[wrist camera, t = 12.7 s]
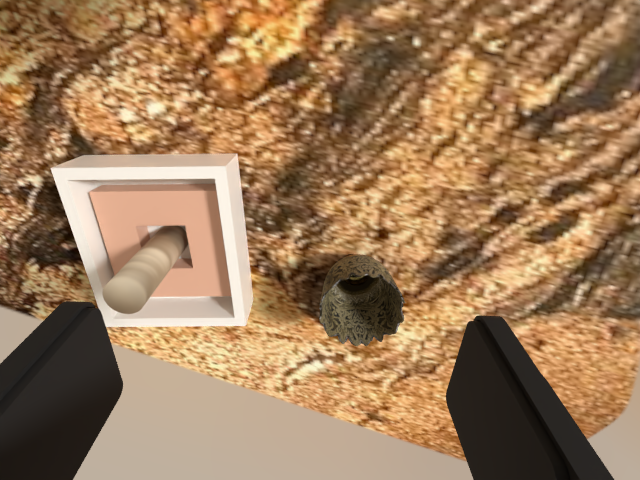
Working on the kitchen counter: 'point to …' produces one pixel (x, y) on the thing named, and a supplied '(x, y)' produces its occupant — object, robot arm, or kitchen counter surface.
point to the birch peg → (145, 270)
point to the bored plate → (167, 210)
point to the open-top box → (158, 169)
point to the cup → (360, 301)
